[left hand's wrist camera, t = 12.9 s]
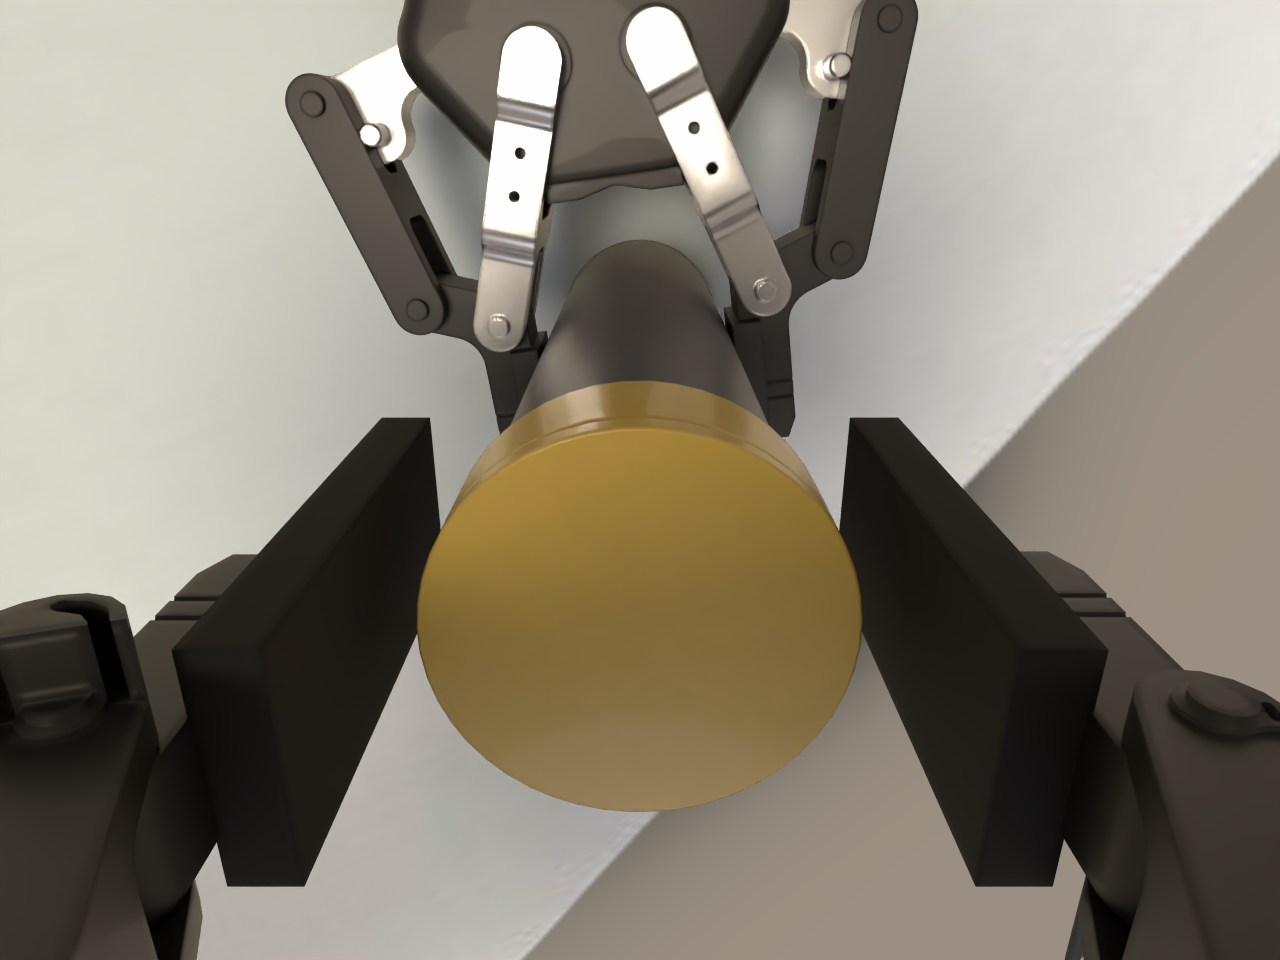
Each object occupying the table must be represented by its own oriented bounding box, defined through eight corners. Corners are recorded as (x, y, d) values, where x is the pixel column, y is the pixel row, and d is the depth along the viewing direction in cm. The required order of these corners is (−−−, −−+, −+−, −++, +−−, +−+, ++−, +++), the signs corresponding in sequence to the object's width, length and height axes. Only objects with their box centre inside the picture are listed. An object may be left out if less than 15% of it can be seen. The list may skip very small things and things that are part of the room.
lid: (501, 326, 11) (474, 365, 9) (891, 446, 11) (938, 505, 9) (413, 667, 12) (375, 755, 11) (751, 755, 13) (769, 853, 11)
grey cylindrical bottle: (590, 219, 27) (498, 383, 9) (732, 266, 27) (896, 502, 10) (550, 360, 29) (409, 722, 11) (685, 401, 29) (753, 809, 12)
